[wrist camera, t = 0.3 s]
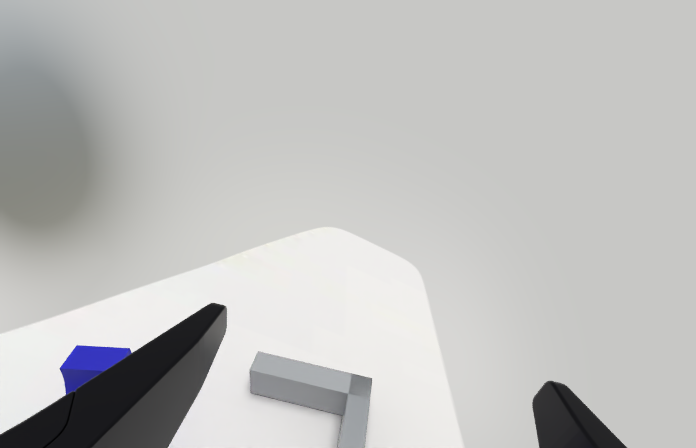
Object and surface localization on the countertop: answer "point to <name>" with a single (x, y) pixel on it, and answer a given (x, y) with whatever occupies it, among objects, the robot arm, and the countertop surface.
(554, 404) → the robot arm
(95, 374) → the cable clip
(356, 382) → the gray u-shaped bracket
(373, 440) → the countertop surface
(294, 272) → the countertop surface
